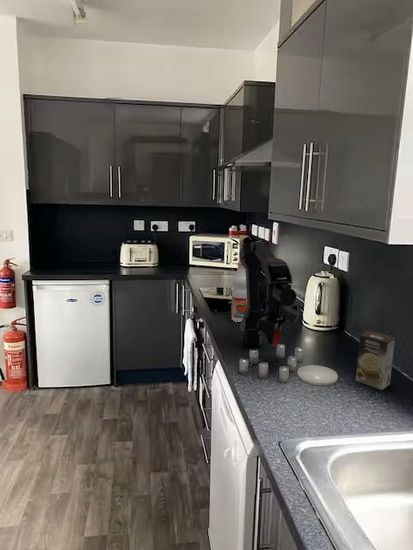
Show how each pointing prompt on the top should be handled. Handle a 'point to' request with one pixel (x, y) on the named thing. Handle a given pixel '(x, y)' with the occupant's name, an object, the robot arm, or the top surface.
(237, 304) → the fruit juice
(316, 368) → the plate
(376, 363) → the coffee box
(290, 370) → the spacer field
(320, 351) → the top surface
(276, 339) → the onion
